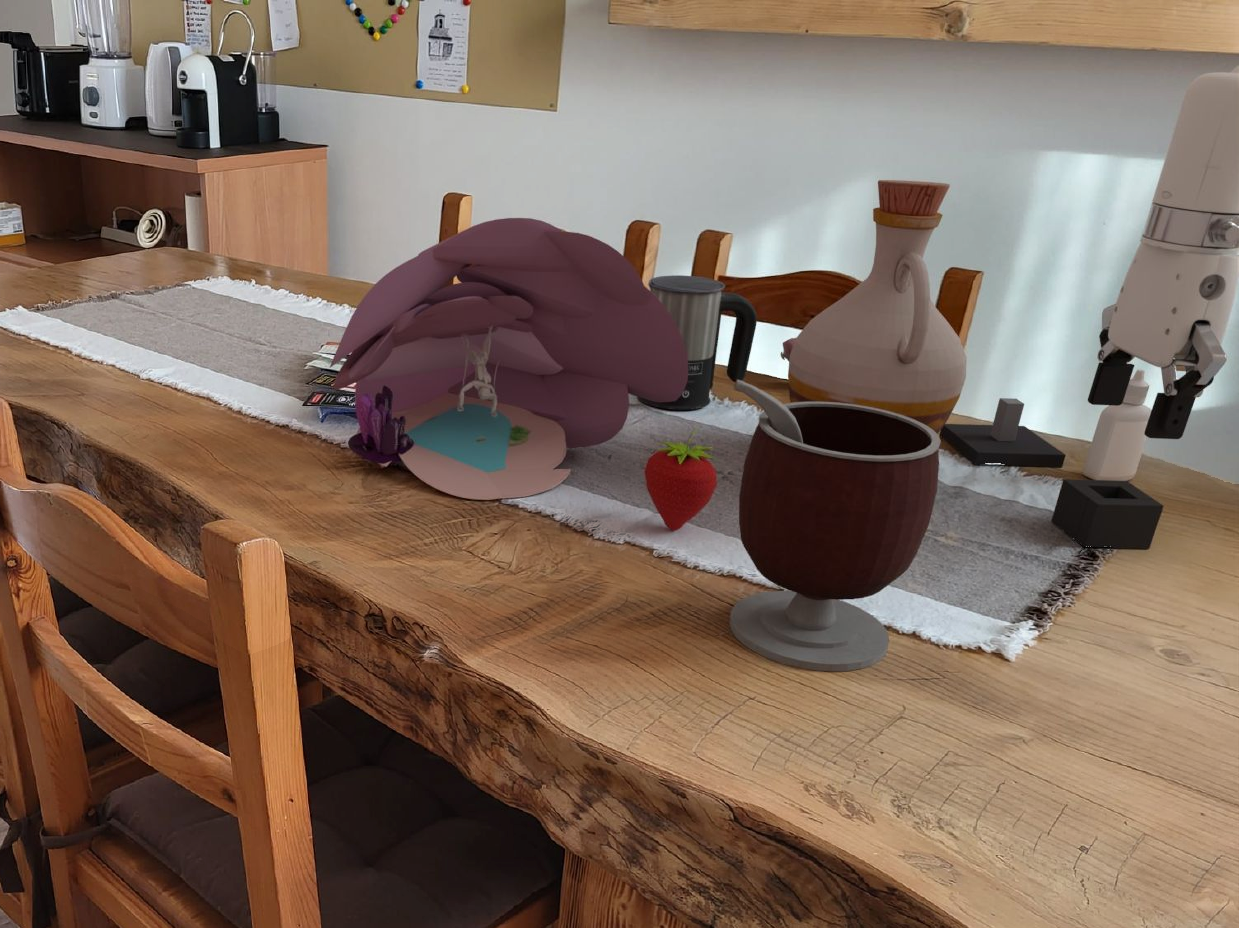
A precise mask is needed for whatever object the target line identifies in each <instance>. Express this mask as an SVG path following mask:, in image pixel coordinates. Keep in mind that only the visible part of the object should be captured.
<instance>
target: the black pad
mask: <svg viewBox="0 0 1239 928" xmlns="http://www.w3.org/2000/svg"><path fill="white" fill-rule="evenodd" d="M1164 507H1165V506H1164V505H1163V504H1162V503H1160V502H1159V501H1157V500H1156V499H1154V498H1153V497H1152V496H1150V495H1149V494H1147V493H1146V492H1144V491H1143V490H1141V489H1140V488H1138V487H1136V486H1135V485H1134V484H1132V483H1131V482H1129V480H1127V481H1112V480H1093V479H1069V478H1068V479H1067V478H1063V479H1062V482H1061V486H1060V489H1059V493H1058V496H1057V500H1056V503H1055V507H1054V510H1053V514H1052V517H1051V520H1050V521H1051V523H1052V524H1054V525H1055V524H1056V525H1057V526H1056V525H1055V526H1056V527H1058V526H1059V527H1060V528H1061V529H1062V530H1061V529H1060V528H1059V527H1058V528H1059V529H1060V530H1061V531H1063V530H1064V531H1063V532H1064V533H1065V532H1066V533H1067V534H1066V533H1065V534H1066V535H1068V534H1069V535H1068V537H1070V536H1071V537H1072V538H1074V539H1075V540H1076V541H1077V542H1076V541H1075V540H1074V539H1073V540H1074V541H1075V542H1076V543H1078V544H1079V543H1081V544H1082V545H1083V546H1084V547H1086V546H1087V547H1088V546H1089V547H1090V546H1091V547H1104V546H1107V547H1110V546H1111V547H1113V548H1112V549H1124V550H1125V549H1128V550H1134V549H1135V550H1150V548H1151V545H1152V542H1153V539H1154V536H1155V533H1156V530H1157V528H1158V524H1159V521H1160V519H1161V516H1162V513H1163V510H1164ZM1071 537H1070V538H1071ZM1072 538H1071V539H1072ZM1084 547H1083V548H1084Z"/></svg>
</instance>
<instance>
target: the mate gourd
mask: <svg viewBox="0 0 1239 928" xmlns="http://www.w3.org/2000/svg"><path fill="white" fill-rule="evenodd" d="M733 391H736V392H738V393H743V394H744V395H746V396H747V397H749V398H750V399H751V400H752V401H754V402H755V403H756V404H757V405H758V406H759V407H760V408H761V409H762V410H763V411H762V412H761V413H760V414H759V417H758V423H757V426H756V427H755V430H754V432H753V435H752V437H751V441H750V443H749V448H748V449H747V453H746V456H745V459H744V463H743V464H744V465H743V470H742V476H741V481H740V482H741V483H740V489H739V496H738V525H739V534H740V540H741V543H742V546H743V548H744V550H745V551H746V553H747V554H748V557H749V558H750V560H751V561H752V563H753V565H754V566H755V568H756V570H757V571H758V572H759V574H760V575H761V576H762V577H764V579H766V580H767V581H769V582H771V583H773V584H774V585H775V586H778V587H780V588H783V589H785V590H771V591H762V592H757V593H755V594H754V593H753V594H750V595H748V596H746V597H744V598H741V599H740V600H739V601H737V602H736V603H735V604H734V605H733V606H732V609H731V610H730V615H729V627H730V632H731V633H732V634H733V635H734V637H735V638H736V640H738V641H739V642H740V643H741V644H742V645H743V646H745V647H746V648H748V649H749V650H751V651H752V652H754V653H756V654H758V655H760V656H762V657H764V658H766V659H768V660H771V661H775V662H777V663H779V664H782V665H786V666H790V667H794V668H797V669H803V670H810V671H816V672H817V671H818V672H832V673H833V672H835V673H836V672H850V671H851V672H852V671H857V670H862V669H865V668H868V667H871V666H873V665H875V664H877V663H879V662H880V661H882V659H883V658H884V657H885V656H886V655H887V651H888V648H889V644H890V636H889V632H888V631H887V629H886V627H885V625H884V624H883V623H881V621H880V620H879V619H877V618H876V617H875V616H873V615H872V614H871V613H870V612H868V611H866V610H863V609H862V608H860V607H858V606H856V605H854V604H852V603H849V602H847V601H845V600H858V599H864V598H867V597H871V596H874V595H876V594H878V593H880V592H881V591H882V590H884V589H885V588H886V587H888V586H890V584H892V583H893V582H895V581H896V580H897V579H898V578H899V577H901V576H902V575H903V574H904V573H906V571H908V570H909V568H910V566H911V565H912V563H913V561H914V559H915V558H916V556H917V554H918V551H919V549H920V547H921V544H922V542H923V540H924V537H925V535H926V533H927V530H928V528H929V525H930V521H931V517H932V513H933V509H934V506H935V501H936V497H937V493H938V482H939V471H940V470H939V469H940V454H939V453H940V452H939V451H940V450H939V448H940V445H941V443H942V442H941V437H940V435H939V433H938V434H937V433H936V432H935V431H934V430H932V429H931V428H929V427H928V426H926V425H925V424H923V423H920V422H918V421H916V420H914V419H911V418H909V417H906V416H903V415H900V414H897V413H893V412H890V411H886V410H882V409H877V408H873V407H867V406H861V405H855V404H847V403H838V402H793V403H791V402H787V403H783V402H781V401H780V400H779V399H777V398H776V397H775V396H773V395H770V393H768V392H765V391H764V390H761V388H758V387H756V386H755V385H752V384H751V383H747V382H745V381H744V380H742V381H741V380H736V382H734V386H733Z"/></svg>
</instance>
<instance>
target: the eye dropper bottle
mask: <svg viewBox="0 0 1239 928" xmlns="http://www.w3.org/2000/svg"><path fill="white" fill-rule="evenodd" d="M1149 390H1150V384H1149V383H1148V382H1146V381H1145V370H1143V369H1136V371H1135V373H1134V375H1133V377H1131V378H1130V381H1129V384H1128V387H1127V391H1126V394H1125V397H1124V400H1123V403H1122V404H1121V405H1119V406H1113V405H1107V406H1106V407H1105V408H1103V409H1102V411H1101V412H1100V415H1099V418H1098V421H1097V424H1096V427H1095V430H1094V433H1093V436H1092V441H1091V442H1090V446H1089V449H1088V453H1087V456H1086V459H1085V463H1084V467H1083V470H1082V474H1083V476H1085V477H1086V478H1089V479H1090V480H1112V481H1130V480H1132V479H1133V478H1135V476H1136V473H1137V470H1138V468H1139V464H1140V461H1141V458H1142V455H1143V451H1144V448H1145V446H1146V442H1147V440H1148V437H1147V436H1145V434H1144V432H1145V429H1146V426H1147V423H1148V420H1149V417H1150V414H1151V411H1152V408H1150V407H1149V406H1147V405H1144V404H1145V401H1146V400H1147V399H1146V398H1147V395H1148V392H1149Z"/></svg>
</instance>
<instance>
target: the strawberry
mask: <svg viewBox="0 0 1239 928" xmlns="http://www.w3.org/2000/svg"><path fill="white" fill-rule="evenodd" d="M696 429H697V428H696V427H694V429H693V430H692V433H691V435H690V438H689V440H688V442H687V444H684V443H683V442H681V441H679V442H678V443H676V442H675V443H674V442H668V441H664V440H663V441H661V443H662V444H663V445H665V446H666V447H667V448H658V449H657V451H656V452H654V453H653V454H652V455H651V456H649V458H648V459H647V462H646V464H645V468H644V478H645V486H646V490H647V492H648V494H649V497H650V499H651V501H652V503H653V505H654V507H655V509H656V511H657V512H658V514H659V515H660V517H661V519H662V521H663V523H664V525H665V527H667V529H669V530H671V531H678V530H680V529H681V528H682V527H683V526H684V525H685V524H686V523H688V522H689V521H690V520H692V519H693V518H694V517H696V516H697V515H698V514H699V513H700V512H701V511H702V510H703V509H704V508H705V507H706V506H707V505H708V504H709V502H710V500H711V499H712V496H713V495H714V493H715V490H716V488H717V487H718V486H717V485H718V480H717V479H718V478H717V471H716V470H717V469H716V468H715V467H714V466H713V464H712V462H711V461H710V460H715V458H714V457H713V456H712V455H709V454H708V453H706V452H704V451H710V450H714V447H710V446H703V445H702V446H701V445H695V446H693V447H692V448H691V447H690V442H691V440H692V438H693V436H694V433H695V431H696Z"/></svg>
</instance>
